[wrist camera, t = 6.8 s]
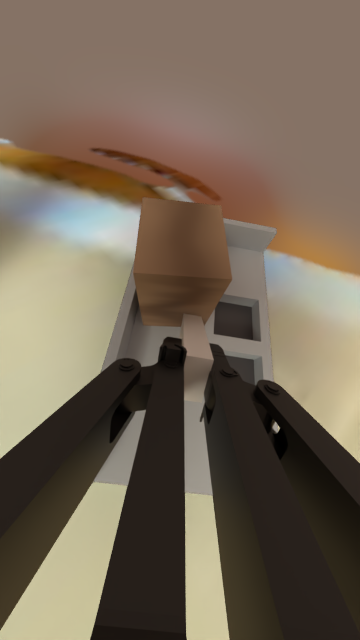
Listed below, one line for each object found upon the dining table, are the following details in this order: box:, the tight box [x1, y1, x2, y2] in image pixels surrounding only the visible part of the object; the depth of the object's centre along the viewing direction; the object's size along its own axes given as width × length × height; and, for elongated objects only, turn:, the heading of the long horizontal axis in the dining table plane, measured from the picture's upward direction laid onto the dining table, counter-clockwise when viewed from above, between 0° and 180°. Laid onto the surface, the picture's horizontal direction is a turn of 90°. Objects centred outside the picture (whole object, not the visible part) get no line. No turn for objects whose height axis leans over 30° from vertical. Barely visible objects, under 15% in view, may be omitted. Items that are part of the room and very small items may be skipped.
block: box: [133, 197, 232, 327], centre depth 16 cm, size 6×7×8 cm
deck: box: [90, 218, 278, 496], centre depth 18 cm, size 15×26×5 cm, turn 173°
